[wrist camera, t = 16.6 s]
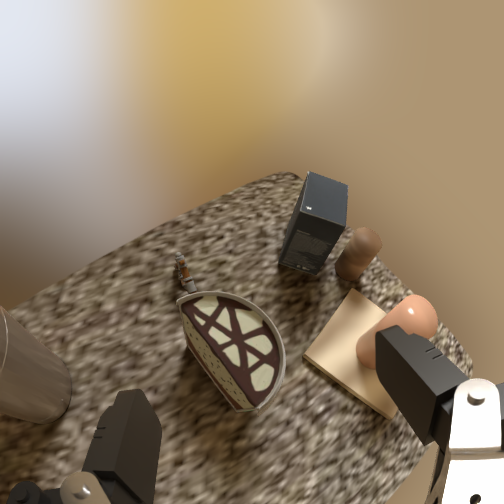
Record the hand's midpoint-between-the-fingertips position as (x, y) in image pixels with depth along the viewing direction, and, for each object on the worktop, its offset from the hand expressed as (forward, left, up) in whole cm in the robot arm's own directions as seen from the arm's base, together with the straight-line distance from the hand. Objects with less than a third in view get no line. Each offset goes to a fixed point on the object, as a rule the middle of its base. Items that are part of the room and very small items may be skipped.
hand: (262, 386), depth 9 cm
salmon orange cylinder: (+9, +18, -23) cm, 31 cm away
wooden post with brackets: (-13, +9, -24) cm, 29 cm away
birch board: (+9, +18, -24) cm, 31 cm away
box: (-7, +25, -24) cm, 36 cm away
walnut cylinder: (0, +27, -24) cm, 36 cm away
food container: (-3, +6, -24) cm, 25 cm away
